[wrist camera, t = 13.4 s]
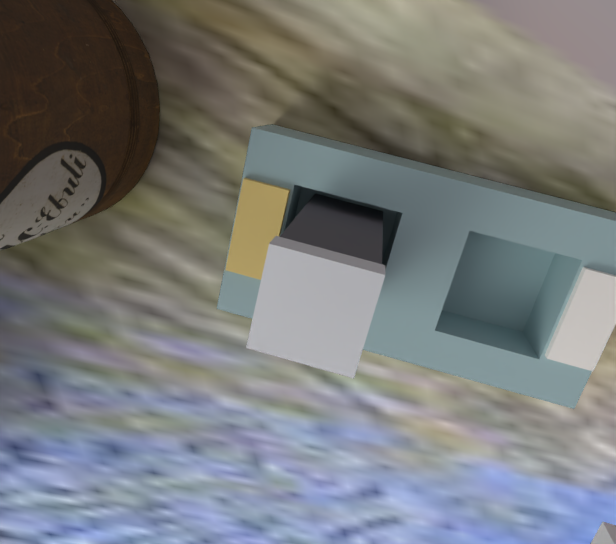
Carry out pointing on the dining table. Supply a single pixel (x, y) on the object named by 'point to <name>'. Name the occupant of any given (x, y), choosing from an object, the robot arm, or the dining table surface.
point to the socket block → (445, 262)
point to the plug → (321, 286)
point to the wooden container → (70, 113)
